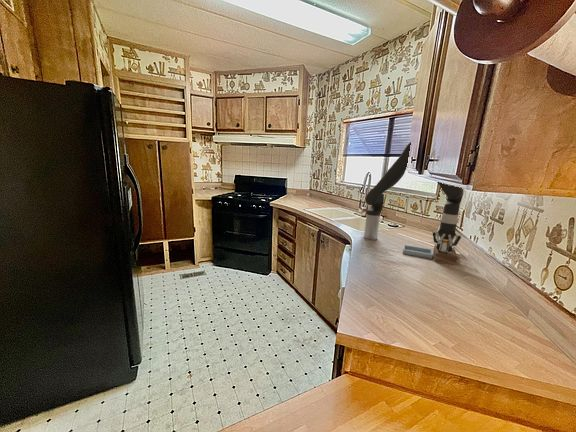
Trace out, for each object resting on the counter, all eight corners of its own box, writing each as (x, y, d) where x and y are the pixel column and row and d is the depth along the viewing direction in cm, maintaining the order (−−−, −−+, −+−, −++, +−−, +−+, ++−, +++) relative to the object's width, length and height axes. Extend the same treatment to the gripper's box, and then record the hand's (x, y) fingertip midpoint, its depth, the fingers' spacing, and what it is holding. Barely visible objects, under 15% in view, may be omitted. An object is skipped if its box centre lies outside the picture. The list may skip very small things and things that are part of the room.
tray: (403, 248, 157) (404, 244, 156) (431, 253, 150) (431, 249, 150) (402, 253, 148) (403, 249, 147) (431, 259, 141) (432, 255, 141)
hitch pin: (436, 258, 143) (440, 237, 140) (445, 259, 141) (449, 238, 138) (437, 260, 139) (441, 239, 136) (446, 262, 137) (450, 240, 134)
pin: (441, 254, 148) (445, 234, 145) (449, 256, 147) (454, 235, 143) (442, 257, 145) (446, 236, 142) (450, 258, 143) (455, 237, 140)
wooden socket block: (433, 252, 152) (434, 244, 151) (452, 255, 148) (453, 247, 146) (434, 261, 138) (436, 253, 137) (455, 265, 134) (457, 256, 133)
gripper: (463, 222, 135) (457, 251, 139) (433, 218, 141) (428, 246, 145) (465, 225, 128) (459, 255, 132) (434, 221, 135) (429, 250, 139)
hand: (443, 250), depth 139 cm, fingers open, 4 cm apart
